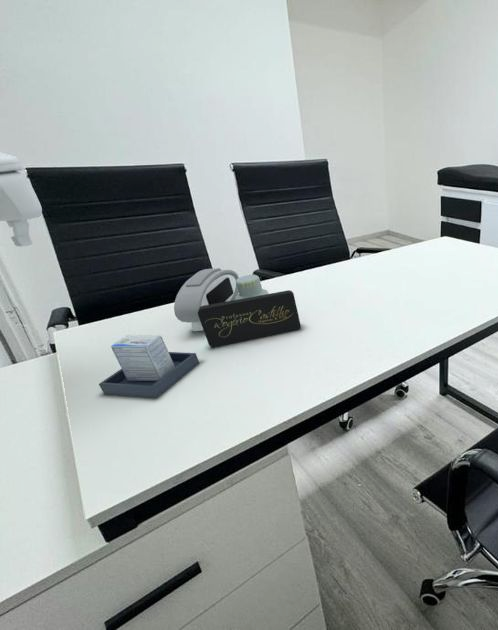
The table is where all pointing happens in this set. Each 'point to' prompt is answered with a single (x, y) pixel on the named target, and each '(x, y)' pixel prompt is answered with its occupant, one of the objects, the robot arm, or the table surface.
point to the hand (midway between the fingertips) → (3, 245)
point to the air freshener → (249, 287)
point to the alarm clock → (204, 293)
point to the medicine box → (143, 357)
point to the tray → (150, 389)
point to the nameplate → (249, 318)
